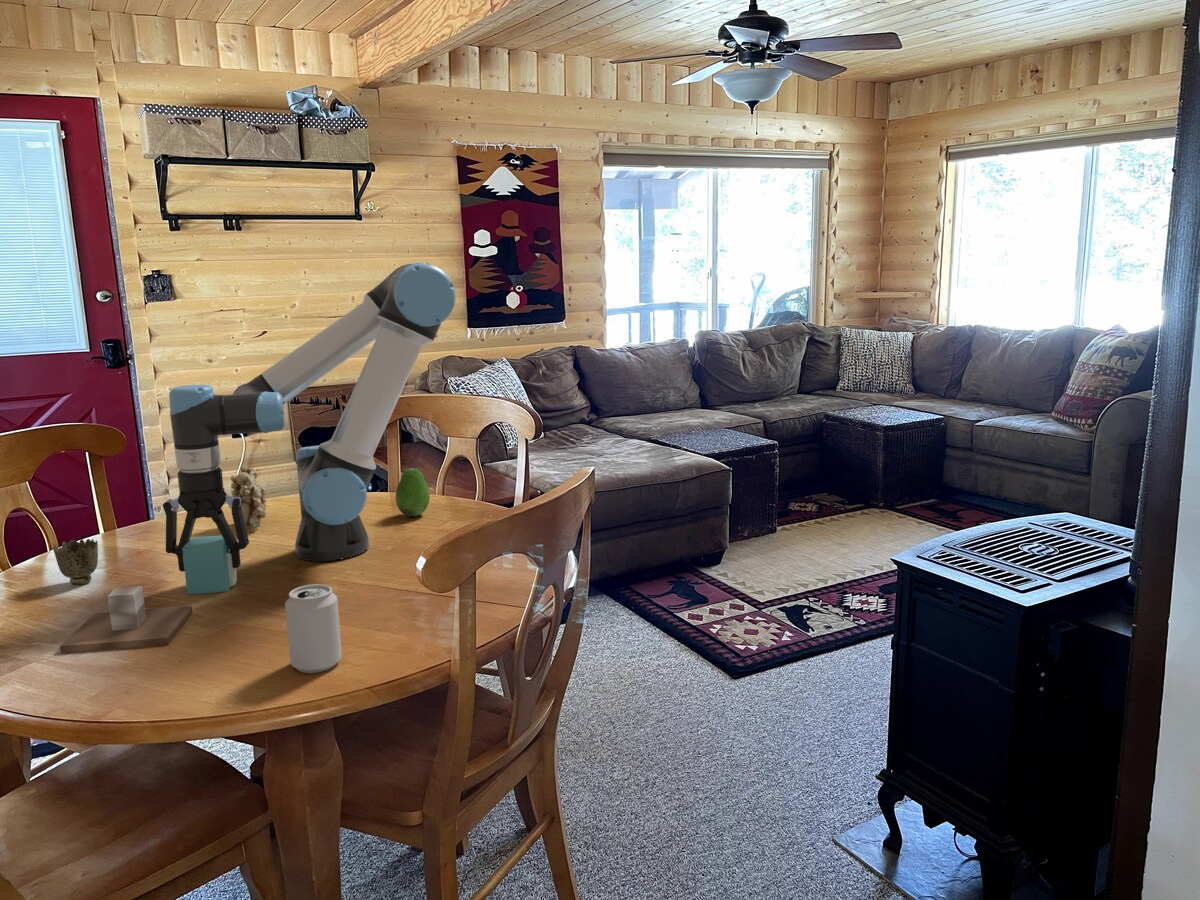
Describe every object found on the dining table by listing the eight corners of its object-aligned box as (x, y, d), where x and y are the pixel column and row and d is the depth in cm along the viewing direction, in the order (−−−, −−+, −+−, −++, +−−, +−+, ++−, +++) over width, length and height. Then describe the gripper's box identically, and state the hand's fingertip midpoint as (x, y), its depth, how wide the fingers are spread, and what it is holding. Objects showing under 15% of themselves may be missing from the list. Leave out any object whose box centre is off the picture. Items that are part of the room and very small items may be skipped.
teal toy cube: (235, 578, 172) (231, 534, 170) (227, 591, 165) (222, 545, 163) (198, 581, 170) (193, 537, 169) (187, 594, 164) (182, 548, 162)
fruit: (403, 511, 218) (400, 464, 216) (434, 511, 217) (431, 464, 215) (392, 520, 210) (389, 471, 208) (424, 520, 210) (421, 471, 207)
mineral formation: (265, 518, 214) (260, 458, 211) (276, 531, 203) (271, 468, 200) (230, 523, 210) (224, 462, 207) (240, 537, 199) (233, 473, 195)
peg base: (192, 612, 155) (188, 573, 154) (167, 644, 142) (162, 602, 140) (95, 619, 153) (90, 579, 151) (60, 653, 139) (54, 610, 138)
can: (297, 655, 137) (291, 582, 135) (346, 652, 138) (340, 580, 135) (285, 676, 130) (277, 600, 127) (336, 674, 130) (330, 598, 128)
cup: (82, 591, 166) (77, 551, 164) (49, 589, 168) (43, 549, 166) (111, 577, 173) (106, 539, 172) (79, 575, 175) (74, 537, 173)
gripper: (135, 475, 158) (150, 596, 162) (250, 470, 161) (262, 588, 166) (149, 466, 165) (163, 582, 170) (259, 461, 168) (270, 575, 173)
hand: (212, 585), depth 168 cm, fingers closed on teal toy cube, 7 cm apart
